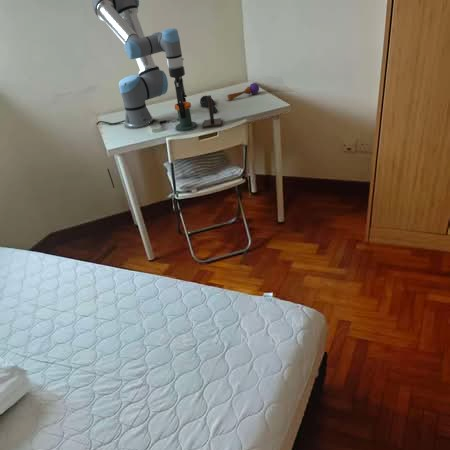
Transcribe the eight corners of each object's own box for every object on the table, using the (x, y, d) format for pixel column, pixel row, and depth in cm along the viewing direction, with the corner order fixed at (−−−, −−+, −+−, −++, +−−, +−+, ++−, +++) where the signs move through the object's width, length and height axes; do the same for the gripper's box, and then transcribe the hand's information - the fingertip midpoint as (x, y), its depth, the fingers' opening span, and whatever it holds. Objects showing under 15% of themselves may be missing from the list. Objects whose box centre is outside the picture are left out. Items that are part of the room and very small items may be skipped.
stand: (175, 132, 216) (171, 112, 209) (177, 125, 224) (173, 105, 218) (196, 129, 215) (193, 109, 209) (197, 122, 223) (194, 102, 217)
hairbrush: (207, 109, 229) (197, 95, 246) (208, 116, 231) (198, 102, 249) (222, 106, 230) (211, 92, 247) (222, 113, 232) (211, 99, 250)
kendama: (225, 92, 245) (255, 81, 249) (227, 102, 249) (257, 92, 252) (229, 92, 240) (259, 81, 244) (231, 103, 244) (261, 92, 247)
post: (204, 128, 216) (199, 99, 206) (204, 122, 222) (200, 94, 213) (221, 126, 215) (217, 97, 206) (221, 120, 222) (217, 92, 212)
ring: (174, 111, 210) (174, 107, 209) (176, 106, 216) (175, 102, 215) (190, 109, 210) (189, 105, 209) (191, 104, 216) (190, 100, 215)
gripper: (181, 71, 192) (190, 121, 207) (185, 60, 209) (192, 106, 224) (166, 73, 192) (175, 122, 207) (170, 62, 209) (178, 108, 224)
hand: (184, 114), depth 215 cm, fingers open, 10 cm apart
